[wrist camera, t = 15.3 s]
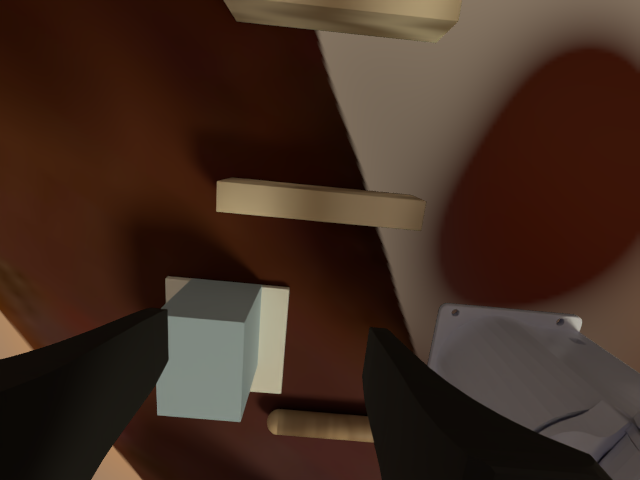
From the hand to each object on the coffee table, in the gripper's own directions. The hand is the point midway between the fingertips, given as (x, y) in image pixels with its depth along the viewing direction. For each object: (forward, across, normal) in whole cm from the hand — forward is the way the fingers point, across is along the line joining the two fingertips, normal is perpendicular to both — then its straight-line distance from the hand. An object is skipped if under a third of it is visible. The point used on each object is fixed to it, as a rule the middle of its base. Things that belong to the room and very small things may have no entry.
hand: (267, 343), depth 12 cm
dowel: (+10, -5, +12) cm, 16 cm away
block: (+10, +4, +5) cm, 11 cm away
